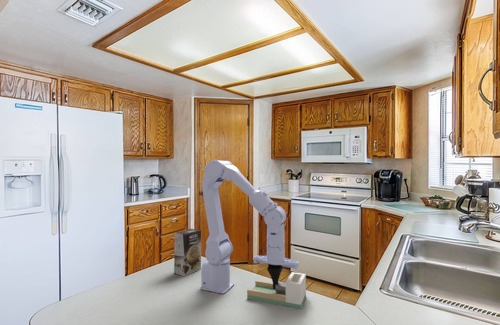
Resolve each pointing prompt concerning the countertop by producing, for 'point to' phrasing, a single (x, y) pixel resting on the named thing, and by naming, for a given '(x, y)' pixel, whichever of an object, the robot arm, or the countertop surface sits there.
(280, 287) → the block
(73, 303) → the countertop surface
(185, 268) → the coffee box
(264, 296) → the pitch
